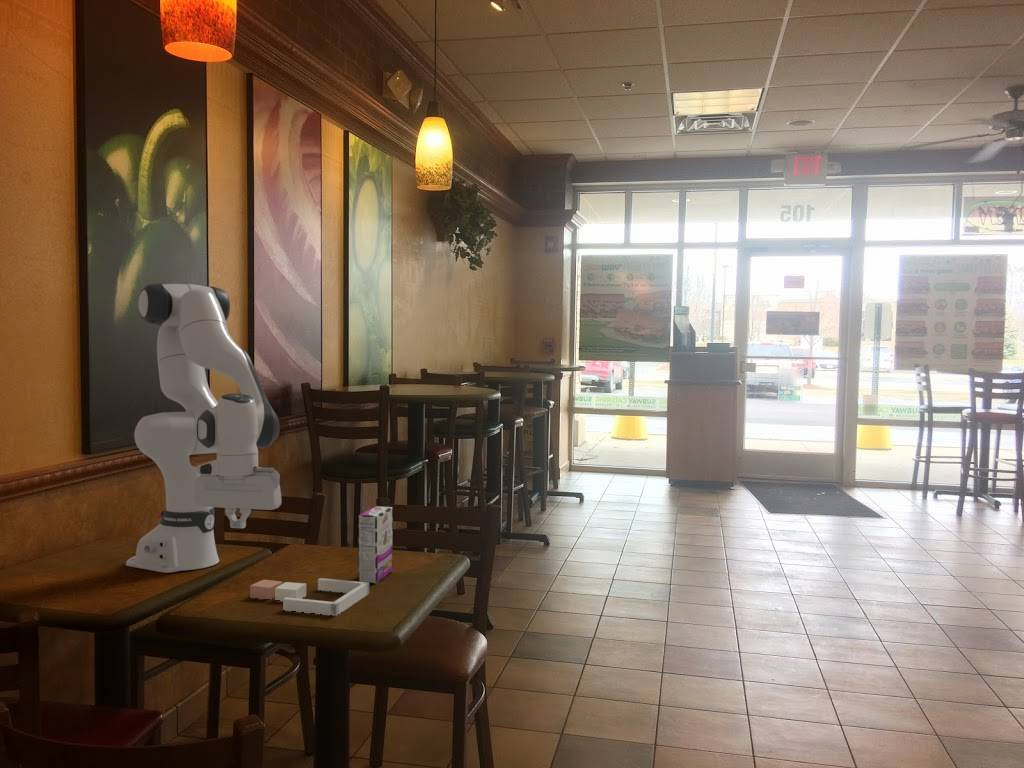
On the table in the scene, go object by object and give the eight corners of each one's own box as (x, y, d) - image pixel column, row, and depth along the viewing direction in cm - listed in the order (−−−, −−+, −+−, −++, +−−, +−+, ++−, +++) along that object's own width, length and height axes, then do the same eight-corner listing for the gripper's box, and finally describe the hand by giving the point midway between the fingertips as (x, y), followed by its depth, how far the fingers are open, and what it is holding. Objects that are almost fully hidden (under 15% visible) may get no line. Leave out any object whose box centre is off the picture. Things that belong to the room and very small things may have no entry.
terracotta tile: (250, 598, 176) (250, 585, 176) (263, 592, 181) (263, 579, 181) (269, 601, 175) (269, 587, 175) (282, 594, 180) (282, 581, 180)
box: (283, 610, 168) (283, 598, 168) (320, 588, 184) (320, 578, 184) (336, 616, 165) (336, 604, 165) (369, 593, 181) (369, 582, 181)
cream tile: (274, 601, 175) (275, 588, 174) (285, 595, 179) (285, 582, 179) (296, 603, 174) (296, 589, 173) (306, 596, 178) (306, 583, 178)
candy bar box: (374, 570, 200) (375, 505, 200) (393, 571, 199) (393, 506, 199) (357, 582, 189) (357, 514, 189) (376, 584, 188) (377, 515, 188)
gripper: (286, 466, 179) (287, 527, 179) (207, 463, 184) (207, 523, 184) (271, 469, 173) (272, 532, 173) (189, 466, 178) (190, 528, 178)
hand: (238, 527), depth 179 cm, fingers closed
